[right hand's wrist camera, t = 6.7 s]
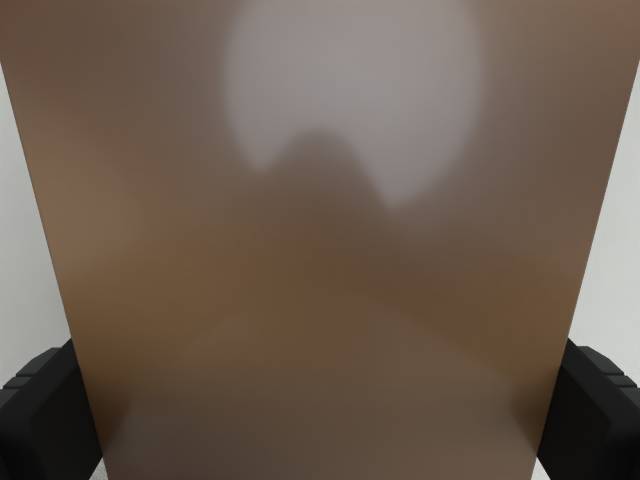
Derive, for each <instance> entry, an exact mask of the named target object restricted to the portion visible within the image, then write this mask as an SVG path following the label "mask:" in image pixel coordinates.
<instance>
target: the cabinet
mask: <svg viewBox="0 0 640 480" xmlns="http://www.w3.org/2000/svg"><path fill="white" fill-rule="evenodd" d="M639 61H640V0H0V62H1V66H2V70H3V74H4V78H5V82H6V86H7V90H8V93H9V97H10V101H11V105H12V109H13V113H14V117H15V120H16V124H17V128H18V132H19V136H20V140H21V144H22V148H23V151H24V155H25V159H26V163H27V167H28V171H29V175H30V179H31V182H32V186H33V190H34V194H35V198H36V202H37V206H38V209H39V213H40V217H41V221H42V225H43V229H44V233H45V237H46V240H47V244H48V248H49V252H50V256H51V260H52V264H53V268H54V271H55V275H56V279H57V283H58V287H59V291H60V295H61V298H62V302H63V306H64V310H65V314H66V318H67V322H68V326H69V329H70V333H71V337H72V341H73V345H74V349H75V353H76V357H77V360H78V364H79V368H80V372H81V376H82V380H83V384H84V388H85V391H86V395H87V399H88V403H89V407H90V411H91V415H92V418H93V422H94V426H95V430H96V434H97V438H98V442H99V446H100V449H101V453H102V457H103V461H104V465H105V469H106V473H107V477H108V480H531V477H532V473H533V470H534V466H535V462H536V458H537V454H538V450H539V446H540V443H541V439H542V435H543V431H544V427H545V423H546V419H547V416H548V412H549V408H550V404H551V400H552V396H553V392H554V389H555V385H556V381H557V377H558V373H559V369H560V365H561V362H562V358H563V354H564V350H565V346H566V342H567V338H568V335H569V331H570V327H571V323H572V319H573V315H574V311H575V308H576V304H577V300H578V296H579V292H580V288H581V284H582V281H583V277H584V273H585V269H586V265H587V261H588V257H589V254H590V250H591V246H592V242H593V238H594V234H595V230H596V227H597V223H598V219H599V215H600V211H601V207H602V203H603V200H604V196H605V192H606V188H607V184H608V180H609V176H610V173H611V169H612V165H613V161H614V157H615V153H616V149H617V145H618V142H619V138H620V134H621V130H622V126H623V122H624V118H625V115H626V111H627V107H628V103H629V99H630V95H631V91H632V88H633V84H634V80H635V76H636V72H637V68H638V64H639Z"/></svg>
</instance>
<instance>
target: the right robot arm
mask: <svg viewBox="0 0 640 480" xmlns="http://www.w3.org/2000/svg"><path fill="white" fill-rule="evenodd" d="M537 458H538V459H539V461H540V463H541V464H542V466H543V468H544V469H545V471H546V473H547V475H548V476H549V478H550V480H640V388H638V387H637V384H636V383H635V382H633V381H632V380H631V379H630V378H629V377H628V376H625V375H624V372H623V371H622V370H621V369H619V368H618V367H617V366H616V365H615V364H614V363H613V362H612V361H611V360H610V359H609V358H607V357H605V356H604V355H602V354H600V353H598V352H597V351H595V350H593V349H592V348H590V347H588V346H576V345H575V344H574V343H573V342H572V341H571V340H570V339H569V338H567V342H566V346H565V350H564V354H563V358H562V362H561V365H560V369H559V373H558V377H557V381H556V385H555V389H554V392H553V396H552V400H551V404H550V408H549V412H548V416H547V419H546V423H545V427H544V431H543V435H542V439H541V443H540V446H539V450H538V454H537ZM101 459H102V453H101V449H100V446H99V442H98V438H97V434H96V430H95V426H94V422H93V418H92V415H91V411H90V407H89V403H88V399H87V395H86V391H85V388H84V384H83V380H82V376H81V372H80V368H79V364H78V360H77V357H76V353H75V349H74V345H73V341H72V337H71V338H70V339H69V340H68V341H67V342H66V343H65V344H64V345H63V346H62V347H61V348H51V349H49V350H47V351H46V352H44V353H42V354H40V355H39V356H37V357H35V358H34V359H32V360H31V361H30V362H28V363H27V364H26V365H25V366H24V367H23V368H22V369H21V370H20V371H19V372H18V373H17V374H16V377H12V378H11V379H10V380H9V381H8V382H7V383H6V384H5V385H4V386H3V389H0V480H89V479H90V477H91V476H92V474H93V472H94V470H95V469H96V467H97V465H98V464H99V462H100V460H101Z"/></svg>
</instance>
